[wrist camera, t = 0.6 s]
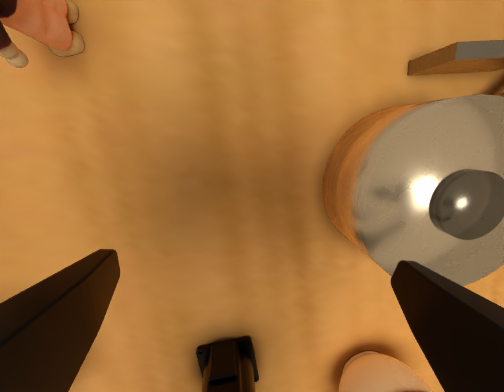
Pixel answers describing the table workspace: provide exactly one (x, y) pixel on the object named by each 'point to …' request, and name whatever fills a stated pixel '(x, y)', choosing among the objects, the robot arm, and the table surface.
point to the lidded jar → (379, 375)
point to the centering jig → (461, 58)
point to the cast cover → (424, 186)
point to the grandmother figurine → (39, 27)
